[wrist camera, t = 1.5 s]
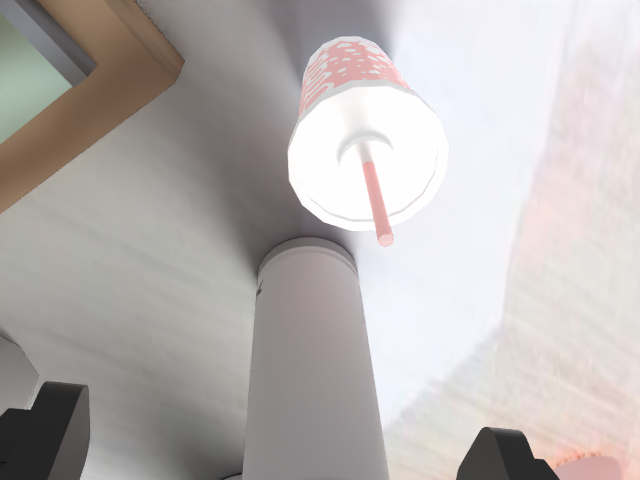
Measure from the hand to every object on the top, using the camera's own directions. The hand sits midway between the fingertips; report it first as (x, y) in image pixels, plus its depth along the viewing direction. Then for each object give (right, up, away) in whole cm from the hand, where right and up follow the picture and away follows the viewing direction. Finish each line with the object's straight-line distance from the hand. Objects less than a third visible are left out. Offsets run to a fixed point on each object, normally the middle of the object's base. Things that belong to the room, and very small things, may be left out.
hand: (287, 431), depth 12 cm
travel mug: (0, +2, +25) cm, 25 cm away
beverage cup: (+2, +12, +17) cm, 21 cm away
